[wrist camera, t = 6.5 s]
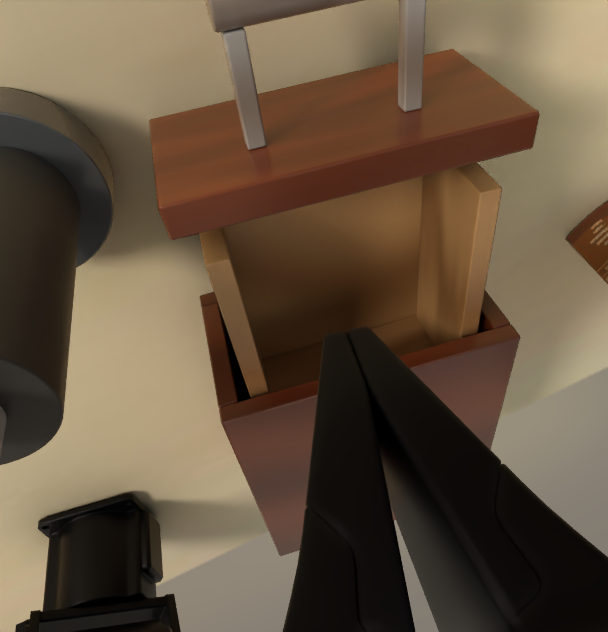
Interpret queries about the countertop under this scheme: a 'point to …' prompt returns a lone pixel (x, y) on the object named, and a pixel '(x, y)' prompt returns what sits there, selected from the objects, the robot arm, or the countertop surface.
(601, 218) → the food container
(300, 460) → the cabinet
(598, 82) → the countertop surface
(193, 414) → the countertop surface
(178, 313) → the countertop surface
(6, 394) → the pepper mill
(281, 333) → the drawer
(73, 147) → the disc
